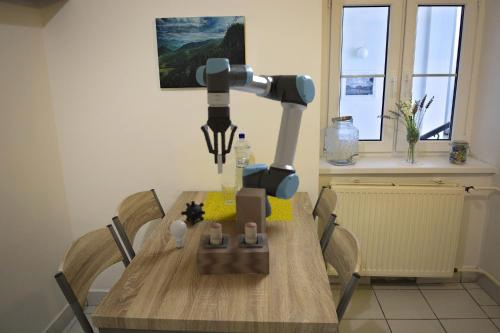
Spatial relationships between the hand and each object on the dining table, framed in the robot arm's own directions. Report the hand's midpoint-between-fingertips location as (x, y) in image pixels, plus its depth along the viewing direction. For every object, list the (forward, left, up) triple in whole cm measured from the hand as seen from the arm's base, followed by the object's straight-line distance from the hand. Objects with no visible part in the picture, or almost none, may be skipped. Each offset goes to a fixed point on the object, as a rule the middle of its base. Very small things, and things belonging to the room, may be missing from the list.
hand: (220, 172), depth 132 cm
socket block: (+6, +9, -31) cm, 32 cm away
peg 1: (+9, +4, -24) cm, 26 cm away
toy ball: (-16, -27, -31) cm, 44 cm away
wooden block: (-13, +5, -31) cm, 34 cm away
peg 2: (+3, +14, -24) cm, 28 cm away
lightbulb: (+6, -16, -31) cm, 35 cm away
